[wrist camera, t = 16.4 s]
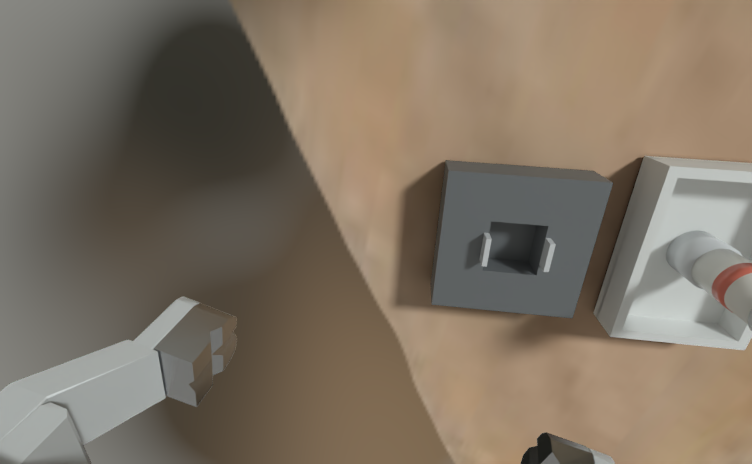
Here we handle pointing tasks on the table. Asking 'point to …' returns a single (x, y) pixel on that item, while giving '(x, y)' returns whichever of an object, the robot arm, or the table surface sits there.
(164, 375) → the robot arm
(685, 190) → the tray
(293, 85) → the table surface
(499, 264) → the fuse holder
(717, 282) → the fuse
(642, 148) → the table surface
